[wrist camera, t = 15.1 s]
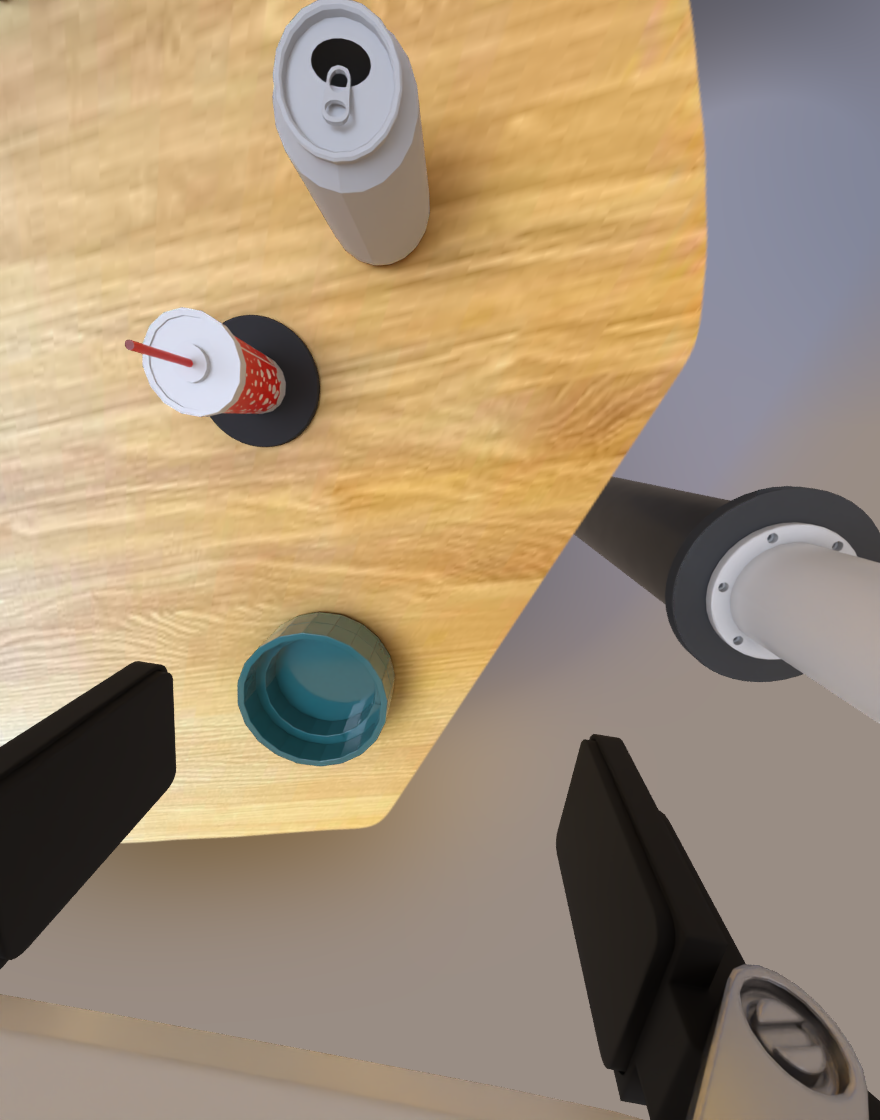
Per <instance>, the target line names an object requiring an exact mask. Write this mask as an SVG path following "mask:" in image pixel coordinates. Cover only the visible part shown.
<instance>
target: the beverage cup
mask: <svg viewBox="0 0 880 1120" xmlns="http://www.w3.org/2000/svg"><path fill="white" fill-rule="evenodd" d="M125 346H126V348H127V349H128V350H131V351H135V352H138V353H142V354H143V368H144V370H145V373H146V376H147V378H148V381H149V384H150V386H151V387H152V389H153V390H154V391H155V392H156V393H157V395H158V396H159V397H160V398H161V400H162V401H163V402H164V403H165V404H167V405H169V406H170V407H172V408H174V409H175V410H177V411H178V412H180V413H182V414H188V415H194V416H199V417H204V416H205V417H209V416H213V415H217V414H221V413H238V414H264V413H268V412H271V411H273V410H274V409H276V408H277V407H278V406H279V405H280V404H281V402H282V400H283V398H284V396H285V389H286V382H285V378H284V375H283V372H282V370H281V369H280V367H279V366H278V365H277V363H276V362H275V361H273V360H272V359H270V358H269V357H267V356H266V355H264V354H263V353H261V352H259V351H258V350H256V349H255V348H253V347H251V346H250V345H248V344H247V343H245V342H243V341H242V340H240V339H239V338H237V337H235V336H234V335H233V334H232V333H231V332H230V330H229V329H228V328H227V326H225V325H223V324H222V323H220V322H219V321H217V320H216V319H214V318H213V317H211V316H210V315H208V314H206V313H205V312H203V311H200V310H194V309H188V308H183V307H181V308H178V309H174V310H171V311H167V312H164V313H163V314H161V315H160V316H159V317H158V318H157V319H156V320H155V321H154V322H153V323H152V324H151V325H150V326H149V328H148V331H147V334H146V336H145V339H144V341H143V344H142V343H138V342H135V341H132V340H126V341H125Z"/></svg>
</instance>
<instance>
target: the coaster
mask: <svg viewBox="0 0 880 1120" xmlns="http://www.w3.org/2000/svg"><path fill="white" fill-rule="evenodd" d="M222 324H223V325H225V326H227V328H228V329H229V330H230V332H231V333H232V334H233V335H234V336H235V337H237V338H239V339H240V340H242V341H243V342H245V343H247V344H248V345H250V346H251V347H253V348H255V349H256V350H258V351H259V352H261V353H263V354H264V355H266V356H267V357H269V358H270V359H272V360H273V361H275V362H276V363H277V365H278V366H279V367H280V369H281V370H282V372H283V375H284V378H285V382H286V389H285V396H284V398H283V400H282V402H281V404H280V405H279V406H278V407H277V408H276V409H274V410H273V411H271V412H268V413H264V414H238V413H221V414H217V415H213V416H210V417H211V418H212V420H213V421H214V422H215V423H216V424H217V426H218V427H219V428H220V429H221V430H223V431H224V432H225V433H226V434H228V435H229V436H231V437H232V438H234V439H236V440H238V441H240V442H242V443H245V444H248V445H252V446H257V447H272V446H278V445H282V444H285V443H287V442H289V441H291V440H293V439H295V438H296V437H297V436H299V435H300V434H301V433H302V432H303V431H304V430H305V429H306V428H307V426H308V425H309V424H310V422H311V420H312V419H313V417H314V415H315V412H316V409H317V406H318V401H319V393H320V383H319V376H318V372H317V368H316V365H315V362H314V360H313V357H312V355H311V353H310V352H309V350H308V348H307V347H306V345H305V344H304V343H303V341H302V340H301V339H300V338H299V337H298V336H297V335H296V334H295V333H294V332H293V331H291V330H290V329H289V328H287V327H286V326H284V325H283V324H281V323H279V322H277V321H275V320H273V319H270V318H267V317H263V316H258V315H244V316H239V317H235V318H232V319H230V320H227V321H225V322H224V323H222Z"/></svg>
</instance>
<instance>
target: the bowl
mask: <svg viewBox="0 0 880 1120" xmlns="http://www.w3.org/2000/svg"><path fill="white" fill-rule="evenodd" d="M394 679H395V673H394V669H393V665H392V661H391V657H390V655H389V653H388V652H387V650H386V648H385V647H384V645H383V644H382V642H381V641H380V639H379V638H378V637H377V636H376V635H375V634H373V633H372V632H371V631H370V630H369V629H368V628H366V627H365V626H364V625H363V624H361V623H359V622H357V621H354V620H352V619H350V618H348V617H345V616H343V615H338V614H330V613H323V612H317V613H311V614H306V615H300V616H297V617H295V618H293V619H291V620H290V621H288V622H286V623H284V624H282V625H281V626H279V627H278V628H277V629H276V630H275V631H274V632H273V633H272V634H271V635H270V637H269V638H268V639H267V640H266V641H265V642H264V643H263V644H262V645H261V646H260V647H259V648H258V649H257V650H256V651H255V652H254V653H253V654H252V656H251V657H250V658H249V659H248V660H247V661H246V662H245V664H244V667H243V669H242V672H241V675H240V677H239V680H238V706H239V709H240V711H241V714H242V717H243V720H244V722H245V724H246V726H247V727H248V728H249V730H250V731H251V732H252V734H253V735H254V736H255V737H256V739H257V740H258V741H259V742H260V743H261V744H263V745H264V746H265V747H267V748H268V749H269V750H271V751H272V752H273V753H275V754H276V755H278V756H281V757H283V758H286V759H288V760H291V761H293V762H295V763H298V764H306V765H313V766H327V765H334V764H341V763H344V762H346V761H348V760H351V759H353V758H355V757H357V756H359V755H361V754H362V753H364V752H365V751H366V750H367V749H368V748H369V747H370V746H371V745H372V744H373V743H374V742H375V741H376V740H377V738H378V736H379V734H380V732H381V730H382V728H383V726H384V724H385V722H386V718H387V714H388V711H389V707H390V703H391V699H392V695H393V688H394Z"/></svg>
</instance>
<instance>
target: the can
mask: <svg viewBox="0 0 880 1120" xmlns="http://www.w3.org/2000/svg"><path fill="white" fill-rule="evenodd" d="M273 82H274V90H273V106H274V115H275V124H276V128H277V130H278V133H279V136H280V138H281V141H282V144H283V146H284V149H285V151H286V153H287V155H288V156H289V158H290V160H291V162H292V163H293V165H294V167H295V168H296V170H297V172H298V174H299V175H300V177H301V179H302V180H303V182H304V184H305V185H306V187H307V189H308V191H309V192H310V194H311V196H312V197H313V199H314V201H315V202H316V204H317V206H318V208H319V209H320V211H321V213H322V214H323V216H324V218H325V220H326V221H327V223H328V225H329V226H330V228H331V230H332V231H333V233H334V235H335V237H336V238H337V239H338V241H339V242H340V243H341V245H342V246H343V248H344V249H345V250H346V251H347V252H348V253H350V254H351V255H352V256H354V257H355V258H356V259H358V260H359V261H362V262H365V263H368V264H372V265H389V264H392V263H394V262H397V261H399V260H401V259H403V258H405V257H406V256H407V255H408V254H409V253H410V252H412V251H413V250H414V249H415V248H416V247H417V245H418V244H419V242H420V240H421V238H422V236H423V235H424V233H425V231H426V227H427V223H428V219H429V214H430V201H429V187H428V178H427V169H426V161H425V152H424V143H423V134H422V125H421V116H420V108H419V99H418V90H417V84H416V81H415V77H414V74H413V71H412V68H411V64H410V61H409V58H408V56H407V55H406V53H405V52H404V50H403V48H402V47H401V45H400V44H399V42H398V41H397V39H396V38H395V36H394V34H392V33H391V32H390V31H389V30H387V28H386V27H385V25H384V24H383V22H382V21H381V19H380V18H379V17H378V16H376V15H375V14H374V13H373V12H372V11H370V10H369V9H368V8H367V7H366V6H364V5H363V4H361V3H358V2H355V1H352V0H317V1H315V2H313V3H312V4H310V5H308V6H306V7H304V8H302V9H301V10H300V11H299V12H298V13H297V15H296V16H295V17H294V18H293V19H292V20H291V21H290V23H289V24H288V25H287V26H286V28H285V30H284V33H283V35H282V37H281V40H280V42H279V44H278V47H277V49H276V55H275V62H274V70H273Z"/></svg>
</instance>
